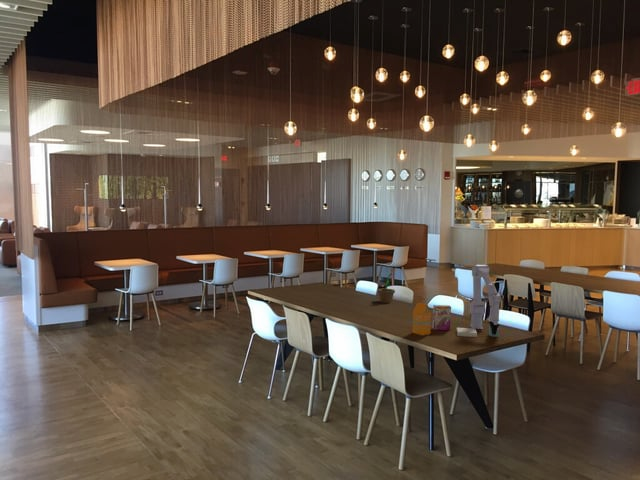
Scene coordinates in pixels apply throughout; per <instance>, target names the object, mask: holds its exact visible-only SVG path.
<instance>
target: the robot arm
mask: <svg viewBox="0 0 640 480" xmlns="http://www.w3.org/2000/svg"><path fill="white" fill-rule="evenodd" d="M489 273H490V267H489V265H488V264H473V265H472V267H471V276H472V278H473V279H472V283H473V284H472V286H473V288H472V291H473V300H472V301H471V302H469V308H468V312H469V314H470V315H471V319H470V321H471V323H470V324H469V326H470V328H472V329H476V330H483V329H484V328H483V327H484V326H483V316H484V315H485V314H486V304H485V302H484V301H482V279H483V281H484V283H485V290H486V292H487V295H488V302H489V304H488V305H489V318H487V321H488V323H489V325H490V326H489V327H491V328H492V334H494V335H496V332H497V329H498V330H499V326H500V324H499V322H500V304H501V302H502V300H503V299H502V295H501V294H500V293H499V292H498V291H497V288H496V286H495V284H492V280H491V277H490V274H489Z"/></svg>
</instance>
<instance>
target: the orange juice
mask: <svg viewBox="0 0 640 480" xmlns="http://www.w3.org/2000/svg"><path fill="white" fill-rule="evenodd" d="M412 312H413V314H412V333H413V334H416V335H419V336H427V335H431V329H432V327H431V326H432V311H431V308H430V307H429V305H428V303H422V302H417V303H416V305H415V307H414V309H413V311H412Z"/></svg>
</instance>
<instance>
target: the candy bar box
mask: <svg viewBox="0 0 640 480" xmlns="http://www.w3.org/2000/svg"><path fill="white" fill-rule="evenodd" d="M432 309H433V310H432V324H431V326H432V327H431V329H433V331H451V319H452V318H451V316H452V315H451V314H452V312H451V311H452V305H448V304H445V305H444V304H433V306H432Z"/></svg>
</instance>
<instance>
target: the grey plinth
mask: <svg viewBox="0 0 640 480" xmlns="http://www.w3.org/2000/svg"><path fill="white" fill-rule="evenodd" d="M456 335H457V336H458V337H468V338H469V337H470V338H477V337H478V332H477V329H473V328H471V327H470V328H469V327H467V328H466V327H456Z"/></svg>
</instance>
